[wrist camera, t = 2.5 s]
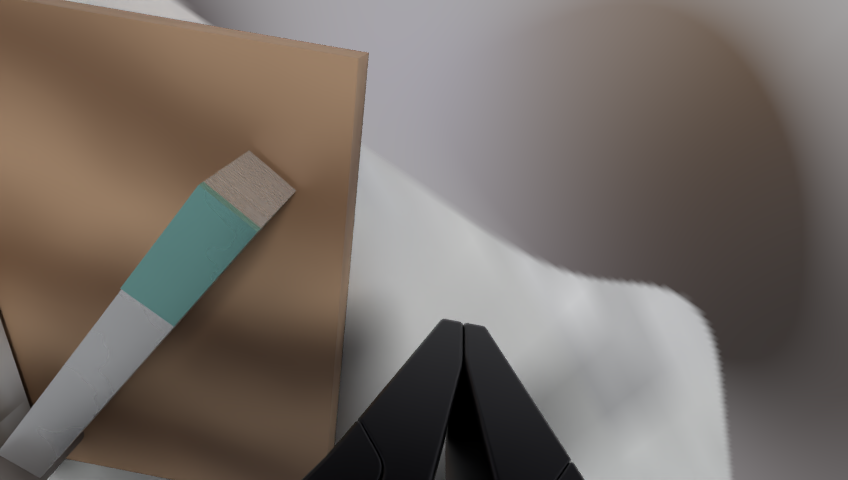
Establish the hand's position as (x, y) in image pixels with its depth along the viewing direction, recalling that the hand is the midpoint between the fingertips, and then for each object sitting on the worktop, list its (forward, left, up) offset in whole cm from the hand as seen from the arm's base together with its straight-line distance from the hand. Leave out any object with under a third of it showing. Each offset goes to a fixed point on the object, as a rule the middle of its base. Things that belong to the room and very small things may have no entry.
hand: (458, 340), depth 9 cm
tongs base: (-5, +12, -6) cm, 15 cm away
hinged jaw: (-5, +9, -5) cm, 12 cm away
